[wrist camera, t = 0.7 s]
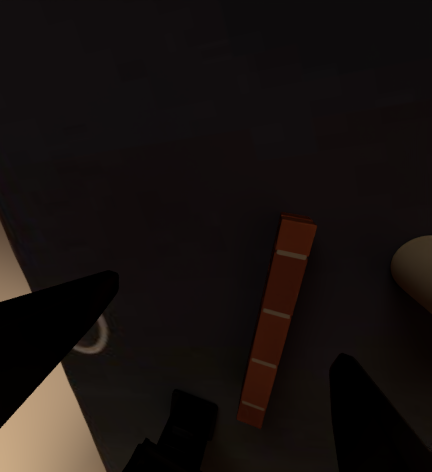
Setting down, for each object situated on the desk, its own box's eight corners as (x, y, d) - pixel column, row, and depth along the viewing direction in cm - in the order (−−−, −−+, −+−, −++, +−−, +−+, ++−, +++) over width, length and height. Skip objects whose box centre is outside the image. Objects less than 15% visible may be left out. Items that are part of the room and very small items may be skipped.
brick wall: (263, 390, 26) (260, 429, 22) (242, 382, 27) (236, 419, 23) (309, 216, 20) (317, 225, 16) (280, 211, 21) (282, 219, 16)
